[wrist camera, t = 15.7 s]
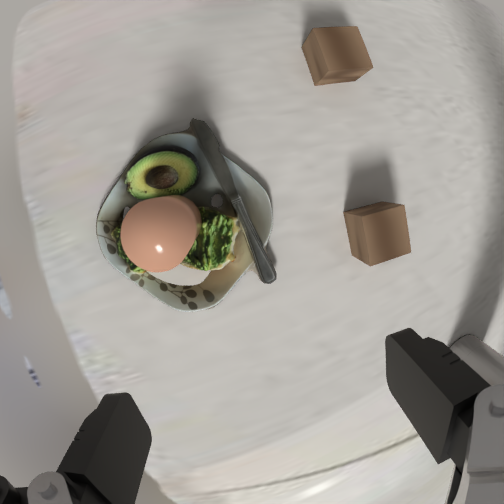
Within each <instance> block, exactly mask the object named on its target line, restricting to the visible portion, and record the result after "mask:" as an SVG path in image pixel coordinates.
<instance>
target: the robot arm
mask: <svg viewBox="0 0 504 504" xmlns="http://www.w3.org/2000/svg"><path fill="white" fill-rule="evenodd" d="M385 346H386V377H387V383H388V386H389V389H390V391H391V393H392V395H393V396H394V398H395V399H396V401H397V402H398V404H399V405H400V407H401V408H402V410H403V411H404V413H405V414H406V416H407V417H408V419H409V420H410V422H411V423H412V425H413V426H414V428H415V429H416V431H417V432H418V434H419V435H420V437H421V438H422V440H423V442H424V443H425V445H426V446H427V448H428V449H429V451H430V452H431V454H432V455H433V457H434V459H435V460H436V462H437V463H438V464H440V463H442V462H444V461H445V460H447V459H449V458H451V459H452V460H453V462H454V463H455V465H454V468H453V472H452V477H451V481H450V485H449V489H448V493H447V497H446V500H445V504H504V356H502V355H501V354H499V353H498V352H497V351H495V350H494V349H492V348H491V347H490V346H488V345H487V344H485V343H484V342H483V341H481V340H480V339H478V338H477V337H475V336H474V335H466V336H464V337H462V338H460V339H459V340H457V341H456V342H455V343H454V344H453V345H452V346H451V347H450V348H448V347H447V346H446V345H445V344H444V343H443V342H440V341H438V340H435V339H432V338H430V337H427V338H425V339H422V338H421V337H420V336H419V335H418V334H417V333H416V332H415V331H414V330H413V329H411V328H407V329H404V330H401V331H399V332H396V333H393V334H390V335H388V336H387V337H386V340H385ZM151 442H152V437H151V431H150V428H149V426H148V424H147V423H146V421H145V419H144V418H143V416H142V414H141V412H140V411H139V409H138V407H137V405H136V403H135V402H134V400H133V398H132V396H131V395H130V394H129V393H114V394H106V395H104V397H103V398H102V400H101V402H100V404H99V405H98V407H97V409H95V410H94V411H93V412H92V413H91V414H90V415H89V416H88V417H87V418H86V419H85V420H84V422H83V423H82V425H81V427H80V429H79V432H77V434H76V436H75V438H74V441H72V443H71V445H70V447H69V449H68V450H67V452H66V454H65V456H64V458H63V460H62V462H61V464H60V465H59V467H58V469H57V471H56V472H45V473H42V474H40V475H38V476H37V477H36V478H34V479H33V480H32V482H31V483H30V485H29V487H23V488H14V487H13V486H12V485H11V484H10V483H9V482H8V481H7V479H6V478H4V477H3V476H0V504H135V500H136V496H137V493H138V489H139V485H140V481H141V478H142V475H143V471H144V467H145V464H146V460H147V457H148V453H149V450H150V446H151Z"/></svg>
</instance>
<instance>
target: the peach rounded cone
mask: <svg viewBox="0 0 504 504" xmlns="http://www.w3.org/2000/svg"><path fill="white" fill-rule="evenodd" d="M201 224H202V221H201V215H200V212H199V210H198V208H197V206H196V205H195V204H194V203H193V202H192V201H191V200H190V199H188V198H186V197H184V196H180V195H169V196H163V197H157V198H152V199H147V200H144V201H141V202H139V203H137V204H136V205H135V206H133V207H132V208H131V209H130V210H129V211H128V213H127V214H126V216H125V218H124V220H123V222H122V226H121V243H122V246H123V249H124V251H125V253H126V255H127V256H128V258H129V259H130V260H131V261H132V262H133V263H134V264H135V265H137V266H138V267H140V268H142V269H144V270H146V271H150V272H164V271H168V270H171V269H173V268H174V267H176V266H177V265H179V264H180V263H181V262H182V261H183V260H184V258H185V257H186V255H187V254H188V252H189V250H190V249H191V247H192V245H193V243H194V242H195V240H196V238H197V237H198V235H199V233H200V230H201Z"/></svg>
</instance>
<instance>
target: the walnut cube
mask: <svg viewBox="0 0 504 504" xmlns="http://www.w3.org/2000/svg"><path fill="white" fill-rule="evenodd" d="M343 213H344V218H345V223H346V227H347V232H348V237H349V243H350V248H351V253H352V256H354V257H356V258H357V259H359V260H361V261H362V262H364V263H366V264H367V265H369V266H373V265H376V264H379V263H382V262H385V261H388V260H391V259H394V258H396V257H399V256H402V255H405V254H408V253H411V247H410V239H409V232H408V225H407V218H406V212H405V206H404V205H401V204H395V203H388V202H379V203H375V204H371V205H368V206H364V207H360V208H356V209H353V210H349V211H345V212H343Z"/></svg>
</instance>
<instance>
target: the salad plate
mask: <svg viewBox="0 0 504 504" xmlns="http://www.w3.org/2000/svg"><path fill="white" fill-rule="evenodd" d="M215 194H220V195H221V196H222V198H223V203H222V205H221V206H220V207H218V208H217V207H213V206H212V205H211V198H212V197H213V196H214V195H215ZM169 195H180V196H184V197H186V198H188V199H190V200H191V201H192V202H193V203H194V204H195V205H196V206H197V208H198V210H199V212H200V215H201V221H202V224H201V230H200V233H199V235H198V237H197V238H196V240H195V242H194V243H193V245H192V247H191V249H190V250H189V252H188V254H187V255H186V257H185V258H184V260H183V261H182V262H181V263H180V264H182V265H183V266H186V267H189V268H194V269H198V270H205V271H207V270H211V272H210V273H209V275H208V277H207V278H206V279H205V280H204V281H203V282H202V283H200V284H198V285H193V286H179V285H174V284H170V283H167V282H164V281H162V280H160V279H157V278H155V277H154V276H152V275H151V274H149V273H148V272H147V271H146V270H144V269H142V268H140V267H138V266H137V265H135V264H134V263H133V262H132V261H131V260H130V259H129V258H128V256H127V255H126V253H125V251H124V249H123V246H122V243H121V226H122V221H123V213H124V208H125V207H129V208H130V209H131V208H132V207H133V206H135V205H136V204H137V203H139V202H141V201H144V200H147V199H152V198H157V197H163V196H169ZM271 231H272V209H271V203H270V199H269V196H268V194H267V192H266V190H265V189H264V188H263V187H262V186H261V185H260V184H259V183H258V182H257V181H256V180H255V179H254V178H253V177H252V176H250V175H249V174H248V173H247V172H245V171H244V170H242V169H241V168H240V167H239V166H237V165H236V164H235V163H234V162H232V161H231V160H229V159H228V158H226V157H225V156H224V155H223V154H221V152H220V150H219V143H218V142H217V140H216V138H215V136H214V134H213V133H212V131H211V130H210V128H209V127H208V125H207V124H206V123H205V122H204V121H201V120H197V119H194V118H193V119H192V121H191V122H190V128H189V129H188V130H186V131H183V132H178V133H171V134H166V135H163V136H160V137H158V138H156V139H154V140H152V141H150V142H149V143H148V144H147V145H145V146H144V147H143V148H142V149H141V150H140V151H139V152H138V153H137V154H136V156H135V157H134V158H133V159H132V161H131V162H130V163H129V165H128V166H127V168H126V169H125V171H124V172H123V174H122V175H121V177H120V178H119V180H118V182H117V183H116V184H115V186H114V187H113V189H112V191H111V192H110V194H109V195H108V196H107V198H106V199H105V201H104V203H103V205H102V207H101V209H100V210H99V212H98V216H97V222H96V233H97V237H98V242H99V245H100V248H101V251H102V253H103V255H104V257H105V259H106V260H107V261H108V262H109V263H110V264H111V265H112V266H113V267H114V268H115V269H116V270H117V271H119V272H120V273H121V274H123V275H124V276H125V277H127V278H128V279H130V280H131V281H132V282H134V283H135V284H137V285H138V286H139V287H141V288H142V289H144V290H145V291H147V292H148V293H149V294H150V295H151V296H152V297H154V298H156V299H158V300H159V301H161V302H162V303H164V304H166V305H168V306H169V307H171V308H173V309H175V310H178V311H185V312H189V311H190V312H193V311H198V310H204V309H210V308H213V307H215V306H216V305H217V304H218V303H220V302H221V301H222V299H223V298H224V297H225V296H226V295H227V293H229V292H230V290H231V289H232V288H233V287H234V286H235V285H236V283H237V282H238V281H239V280H240V278H241V277H242V276H243V275H245V274H246V273H247V272H248V271H254V272H255V273H256V274H257V275H258V276H259V279H260V280H261V281H262V282H263V283H267V284H271V283H272V282H274V281H275V280H276V271H275V269H274V267H273V265H272V263H271V261H270V259H269V256H268V254H267V250H266V247H267V243H268V240H269V237H270V234H271Z"/></svg>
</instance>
